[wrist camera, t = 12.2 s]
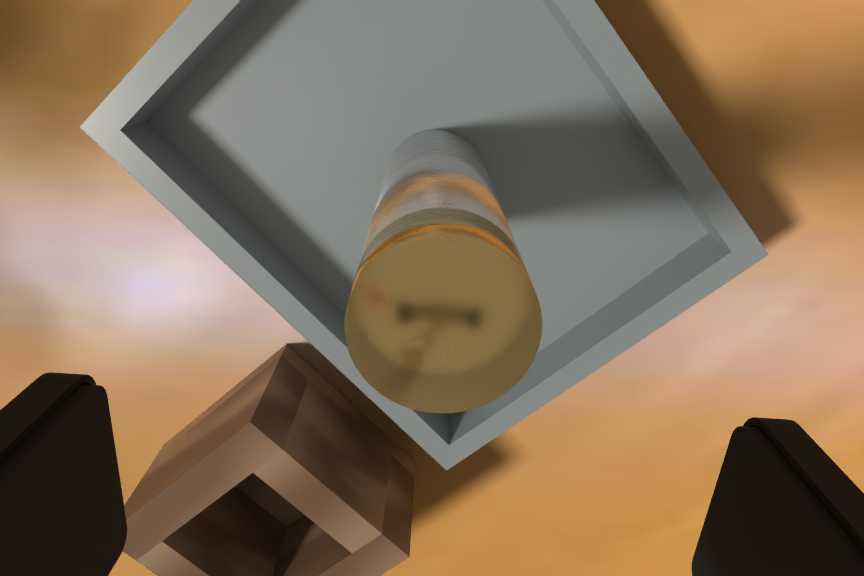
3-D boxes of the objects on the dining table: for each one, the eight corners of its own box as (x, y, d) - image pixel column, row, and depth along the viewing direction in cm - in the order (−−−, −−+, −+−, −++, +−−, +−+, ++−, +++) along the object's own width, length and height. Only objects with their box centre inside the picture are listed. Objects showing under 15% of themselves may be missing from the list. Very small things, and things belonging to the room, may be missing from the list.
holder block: (414, 461, 31) (409, 556, 25) (292, 546, 33) (263, 649, 28) (286, 343, 28) (249, 421, 23) (163, 445, 31) (103, 537, 25)
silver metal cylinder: (506, 185, 24) (582, 339, 12) (431, 247, 25) (433, 444, 13) (441, 106, 23) (455, 194, 11) (365, 175, 24) (302, 321, 12)
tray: (733, 229, 26) (768, 254, 23) (445, 429, 30) (446, 470, 27) (423, -215, 20) (420, -253, 17) (120, 114, 24) (79, 127, 21)
